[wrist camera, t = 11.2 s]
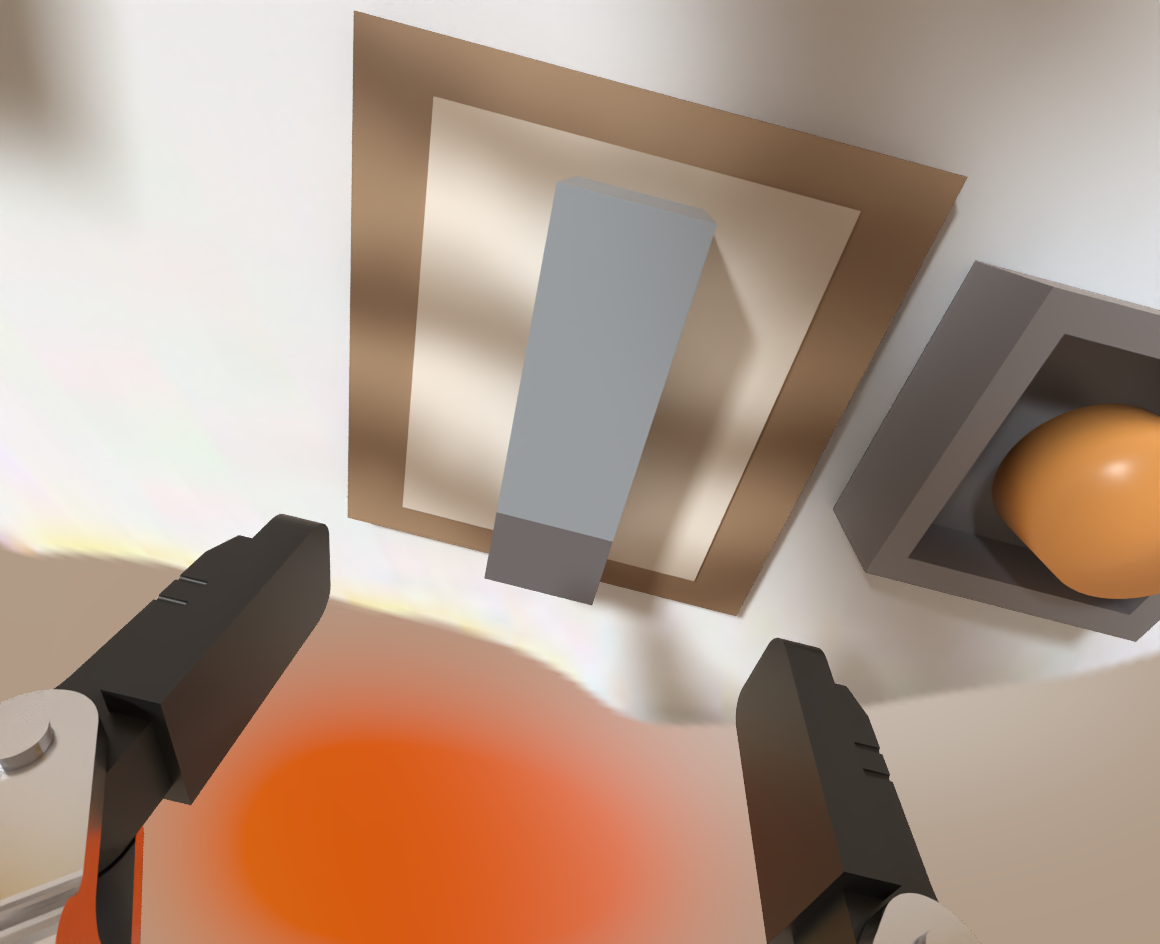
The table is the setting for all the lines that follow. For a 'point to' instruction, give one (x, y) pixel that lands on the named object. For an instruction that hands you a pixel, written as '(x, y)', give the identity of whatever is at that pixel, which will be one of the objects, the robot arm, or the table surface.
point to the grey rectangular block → (592, 379)
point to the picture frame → (511, 274)
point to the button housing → (996, 441)
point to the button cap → (1089, 498)
